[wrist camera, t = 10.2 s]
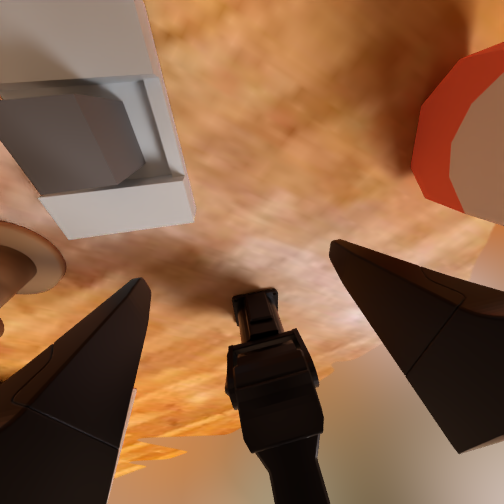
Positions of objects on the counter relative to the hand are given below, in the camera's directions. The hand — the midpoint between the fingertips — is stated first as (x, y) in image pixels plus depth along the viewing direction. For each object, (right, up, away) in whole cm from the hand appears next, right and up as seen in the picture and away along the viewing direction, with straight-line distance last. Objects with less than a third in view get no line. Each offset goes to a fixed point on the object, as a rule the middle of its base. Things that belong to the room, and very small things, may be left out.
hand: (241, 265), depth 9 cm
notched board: (-10, +9, +6) cm, 15 cm away
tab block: (-10, +9, +5) cm, 15 cm away
